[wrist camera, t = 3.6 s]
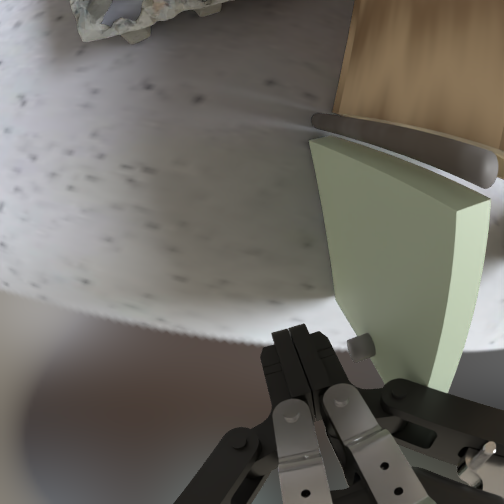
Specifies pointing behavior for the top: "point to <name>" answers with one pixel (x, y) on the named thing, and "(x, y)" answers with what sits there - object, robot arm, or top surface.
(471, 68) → the cupboard
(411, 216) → the door
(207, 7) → the egg carton
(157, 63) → the top surface
